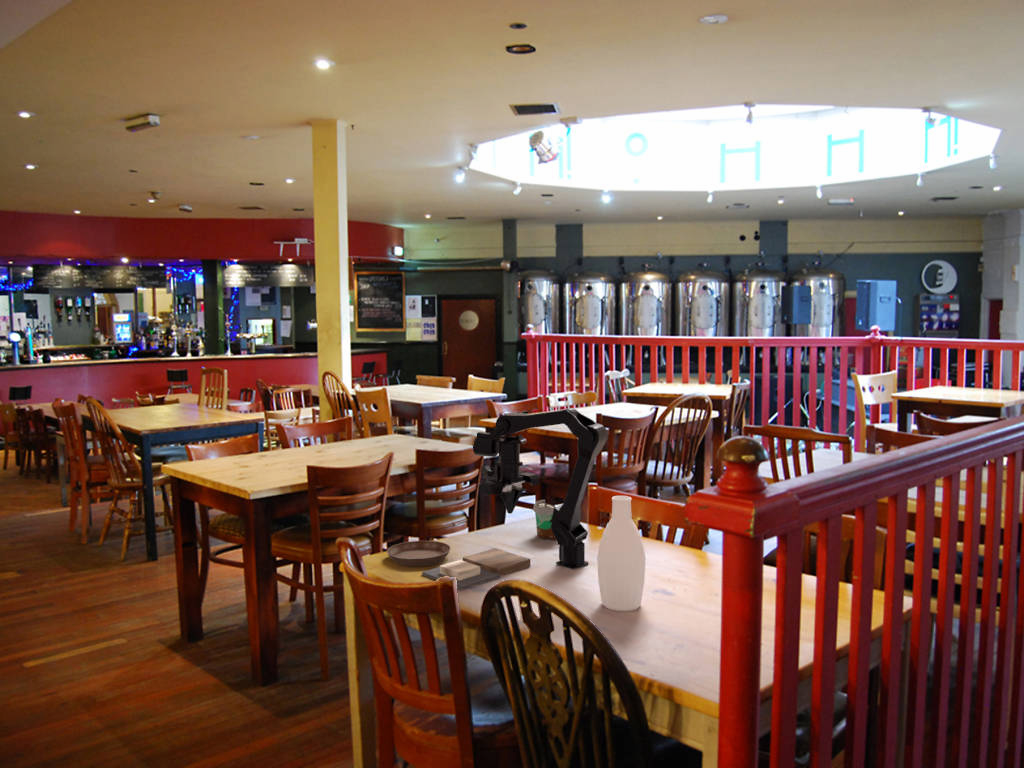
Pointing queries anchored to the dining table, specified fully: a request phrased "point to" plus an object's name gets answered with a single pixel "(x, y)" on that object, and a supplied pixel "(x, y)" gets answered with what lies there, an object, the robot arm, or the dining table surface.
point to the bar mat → (467, 582)
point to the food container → (544, 519)
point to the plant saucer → (418, 553)
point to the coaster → (460, 570)
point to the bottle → (621, 560)
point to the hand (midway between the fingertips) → (509, 513)
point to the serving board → (498, 561)
